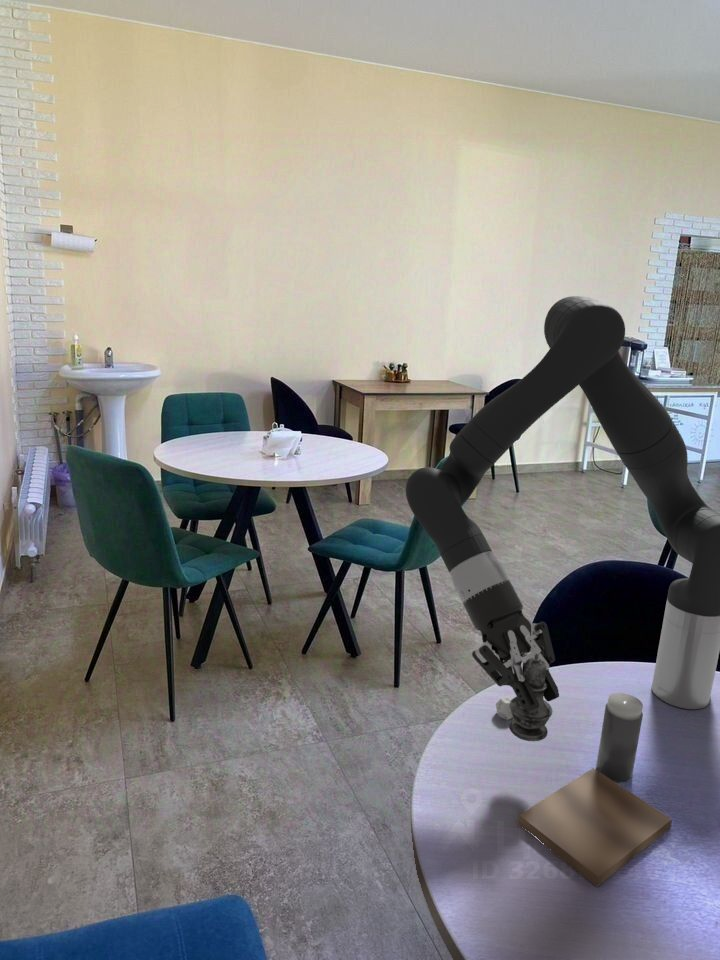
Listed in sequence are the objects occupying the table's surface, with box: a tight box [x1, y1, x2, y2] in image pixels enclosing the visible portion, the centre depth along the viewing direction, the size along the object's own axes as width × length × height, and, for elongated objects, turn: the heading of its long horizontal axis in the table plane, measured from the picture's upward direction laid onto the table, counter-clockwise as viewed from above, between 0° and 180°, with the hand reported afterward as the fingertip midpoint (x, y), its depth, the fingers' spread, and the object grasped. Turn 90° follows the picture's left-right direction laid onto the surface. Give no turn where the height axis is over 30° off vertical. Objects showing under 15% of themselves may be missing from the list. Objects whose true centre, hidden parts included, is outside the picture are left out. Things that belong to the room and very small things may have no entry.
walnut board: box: [517, 767, 673, 888], centre depth 92 cm, size 16×12×2 cm
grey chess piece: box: [508, 654, 553, 742], centre depth 98 cm, size 6×6×12 cm
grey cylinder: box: [595, 692, 644, 783], centre depth 102 cm, size 5×5×11 cm
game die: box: [495, 695, 514, 721], centre depth 115 cm, size 4×4×3 cm
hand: (543, 703), depth 97 cm, fingers closed on grey chess piece, 3 cm apart
